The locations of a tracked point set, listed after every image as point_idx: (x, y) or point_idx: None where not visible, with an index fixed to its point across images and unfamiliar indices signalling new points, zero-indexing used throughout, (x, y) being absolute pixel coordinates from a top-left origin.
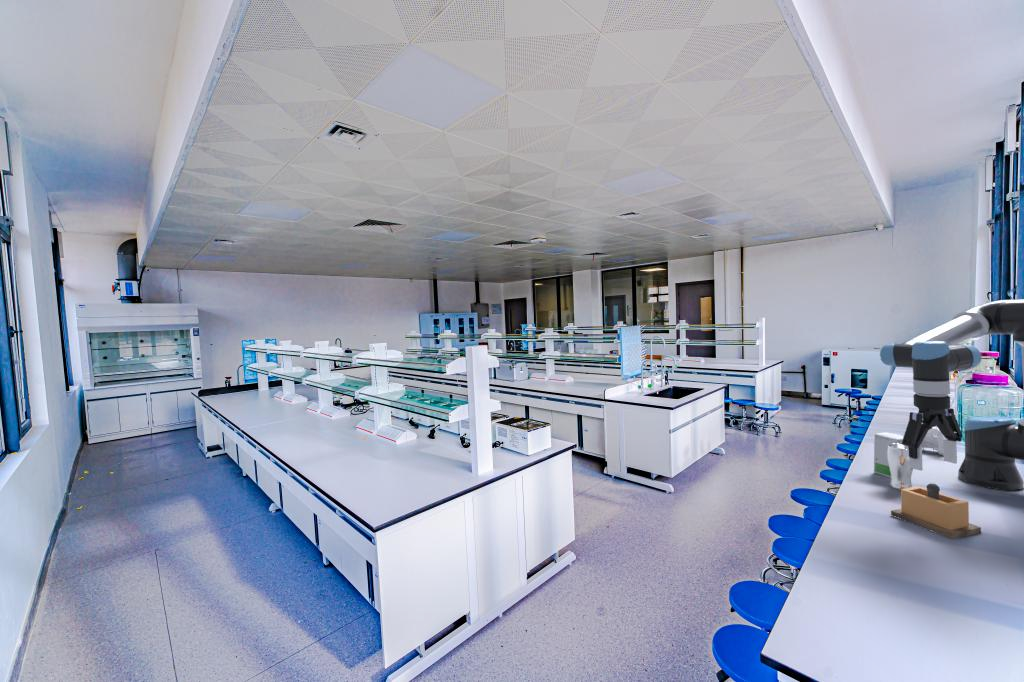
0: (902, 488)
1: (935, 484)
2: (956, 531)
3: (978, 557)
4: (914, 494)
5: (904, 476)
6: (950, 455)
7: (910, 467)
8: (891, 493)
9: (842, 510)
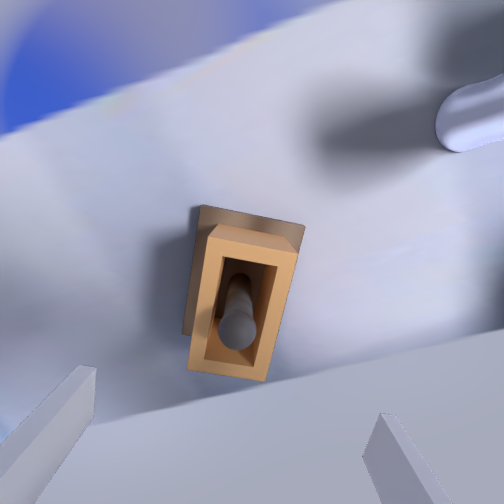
0: (441, 134)
1: (240, 345)
2: None
3: (144, 373)
4: (201, 278)
5: (488, 127)
6: (394, 495)
7: (76, 371)
8: (383, 127)
9: (115, 108)
